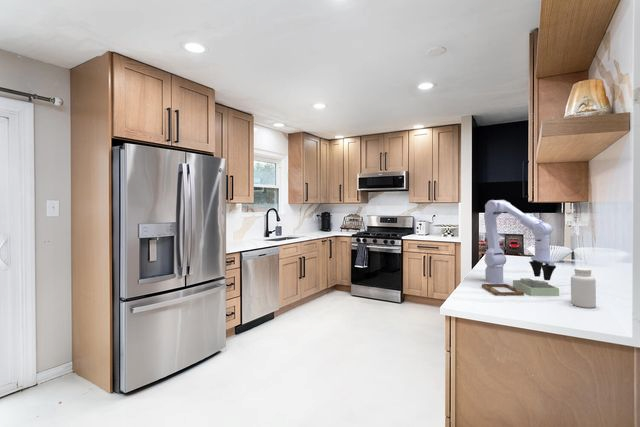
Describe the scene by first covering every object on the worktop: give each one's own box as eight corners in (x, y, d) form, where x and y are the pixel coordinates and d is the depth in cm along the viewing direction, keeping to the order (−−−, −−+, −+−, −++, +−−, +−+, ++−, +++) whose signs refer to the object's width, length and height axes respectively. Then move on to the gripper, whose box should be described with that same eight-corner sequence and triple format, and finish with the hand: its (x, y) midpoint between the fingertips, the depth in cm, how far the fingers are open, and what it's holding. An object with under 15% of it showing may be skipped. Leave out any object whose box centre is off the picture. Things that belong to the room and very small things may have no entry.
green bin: (512, 288, 163) (512, 280, 163) (538, 288, 162) (538, 280, 162) (530, 296, 147) (530, 288, 147) (559, 297, 146) (559, 288, 146)
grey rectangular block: (520, 288, 160) (520, 278, 159) (529, 288, 159) (529, 278, 159) (524, 290, 156) (524, 280, 155) (533, 290, 155) (533, 280, 155)
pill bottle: (569, 301, 140) (569, 266, 139) (593, 304, 135) (593, 268, 135) (572, 306, 133) (572, 269, 132) (597, 309, 129) (597, 271, 128)
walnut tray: (481, 287, 164) (481, 283, 164) (506, 288, 163) (506, 284, 163) (496, 296, 148) (496, 292, 148) (523, 296, 147) (523, 292, 147)
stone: (534, 291, 154) (534, 280, 154) (543, 291, 154) (543, 280, 154) (539, 293, 150) (539, 282, 150) (548, 293, 150) (548, 282, 150)
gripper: (524, 247, 159) (524, 274, 159) (542, 251, 145) (542, 281, 145) (539, 247, 159) (539, 274, 159) (559, 251, 144) (559, 282, 144)
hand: (542, 278), depth 152 cm, fingers open, 7 cm apart
